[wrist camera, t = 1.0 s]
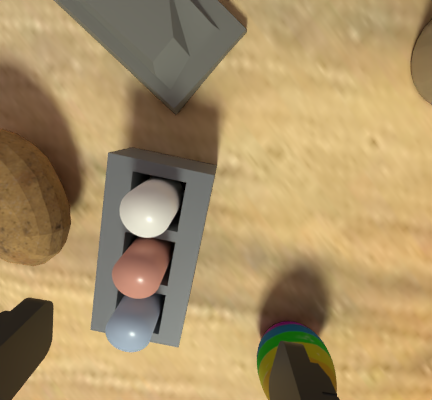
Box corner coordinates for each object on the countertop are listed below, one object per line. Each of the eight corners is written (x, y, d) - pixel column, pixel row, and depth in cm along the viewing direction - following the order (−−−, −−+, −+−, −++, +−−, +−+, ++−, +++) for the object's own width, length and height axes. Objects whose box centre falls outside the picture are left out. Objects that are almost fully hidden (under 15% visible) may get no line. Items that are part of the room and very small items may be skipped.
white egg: (146, 169, 26) (122, 182, 20) (187, 178, 26) (175, 193, 20) (140, 209, 27) (116, 231, 21) (180, 217, 27) (167, 242, 21)
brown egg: (138, 223, 27) (114, 250, 21) (177, 232, 27) (164, 260, 21) (133, 259, 28) (109, 293, 22) (171, 266, 28) (156, 302, 22)
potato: (43, 257, 32) (-16, 299, 24) (-36, 151, 29) (-131, 160, 21) (111, 222, 30) (71, 255, 23) (35, 106, 27) (-39, 98, 20)
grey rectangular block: (132, 147, 28) (108, 152, 22) (216, 165, 28) (214, 175, 22) (114, 294, 33) (90, 329, 27) (186, 308, 33) (178, 347, 27)
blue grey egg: (131, 272, 29) (107, 309, 23) (168, 280, 29) (154, 318, 23) (127, 304, 30) (103, 347, 24) (163, 311, 30) (147, 356, 24)
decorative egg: (286, 299, 32) (311, 372, 23) (333, 337, 33) (377, 423, 24) (240, 341, 34) (245, 425, 24) (287, 376, 35) (310, 470, 26)
